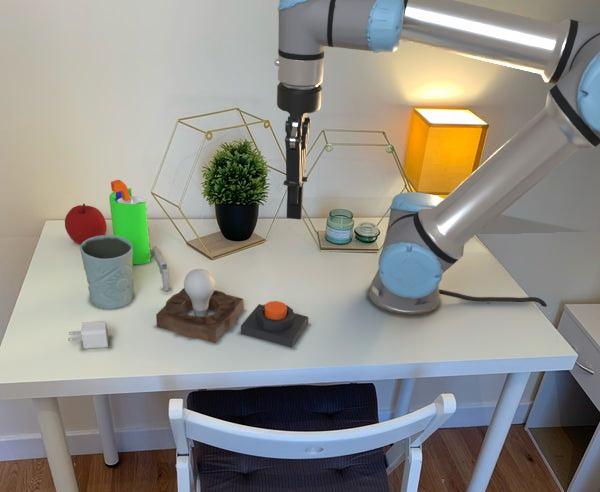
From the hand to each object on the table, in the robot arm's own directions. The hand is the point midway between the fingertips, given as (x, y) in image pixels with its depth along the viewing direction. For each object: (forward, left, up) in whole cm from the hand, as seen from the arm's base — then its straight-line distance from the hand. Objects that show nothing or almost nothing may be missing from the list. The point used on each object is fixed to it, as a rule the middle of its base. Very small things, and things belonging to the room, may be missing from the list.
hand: (294, 217), depth 125 cm
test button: (0, +7, -18) cm, 19 cm away
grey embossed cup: (+35, +11, -21) cm, 43 cm away
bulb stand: (+15, +10, -21) cm, 28 cm away
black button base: (0, +7, -21) cm, 22 cm away
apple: (+54, -8, -21) cm, 59 cm away
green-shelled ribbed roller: (+41, -7, -21) cm, 47 cm away
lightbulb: (+15, +10, -21) cm, 28 cm away
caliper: (+36, +6, -22) cm, 43 cm away
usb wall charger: (+30, +27, -21) cm, 46 cm away
